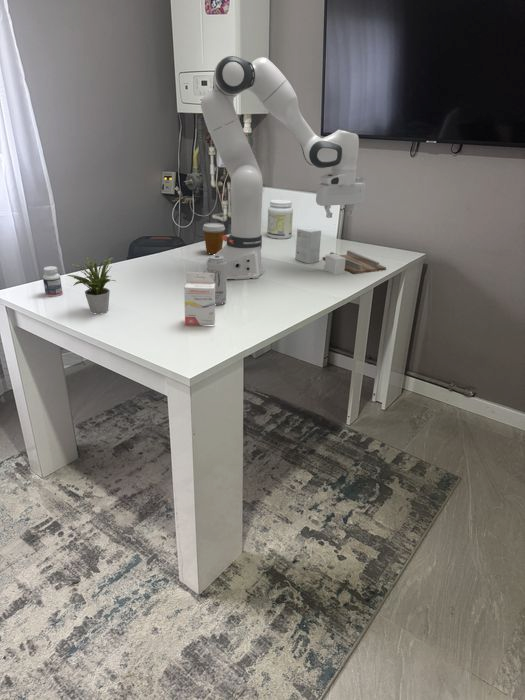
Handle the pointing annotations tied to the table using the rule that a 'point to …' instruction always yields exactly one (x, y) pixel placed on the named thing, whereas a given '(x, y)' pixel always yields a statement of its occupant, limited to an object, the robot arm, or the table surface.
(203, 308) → the ink cartridge box
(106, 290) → the house plant
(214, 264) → the energy drink can
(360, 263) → the brown flat wooden board
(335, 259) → the module block
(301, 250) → the small box
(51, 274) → the pill bottle
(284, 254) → the table surface
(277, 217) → the supplement tub
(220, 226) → the disposable coffee cup
